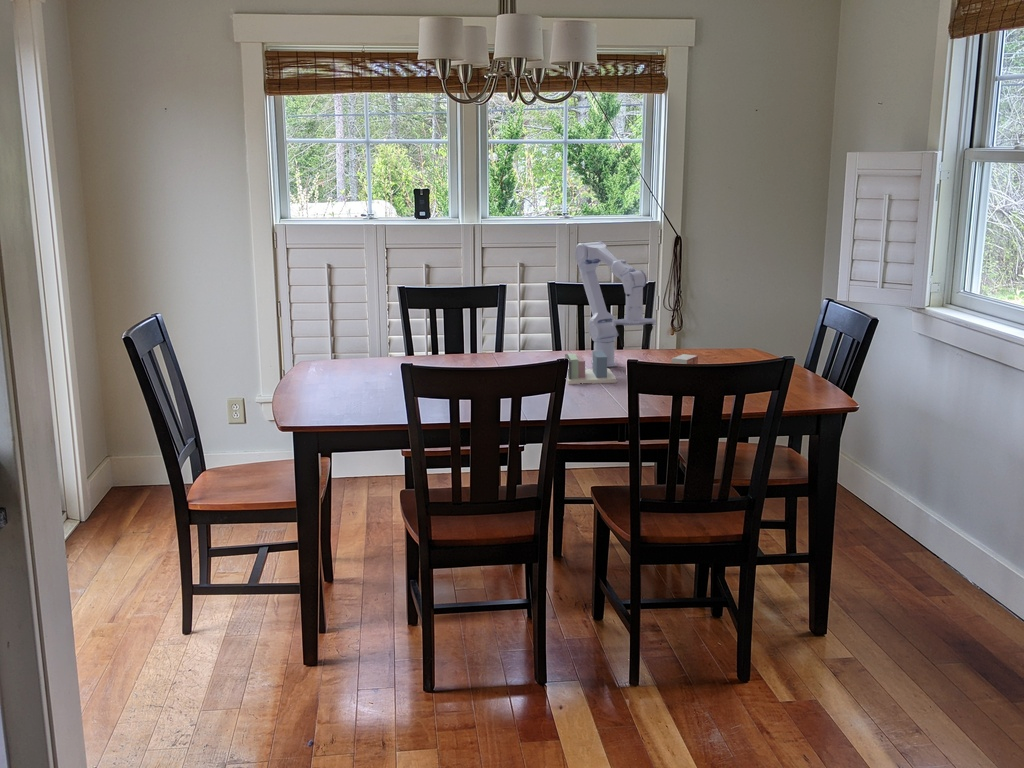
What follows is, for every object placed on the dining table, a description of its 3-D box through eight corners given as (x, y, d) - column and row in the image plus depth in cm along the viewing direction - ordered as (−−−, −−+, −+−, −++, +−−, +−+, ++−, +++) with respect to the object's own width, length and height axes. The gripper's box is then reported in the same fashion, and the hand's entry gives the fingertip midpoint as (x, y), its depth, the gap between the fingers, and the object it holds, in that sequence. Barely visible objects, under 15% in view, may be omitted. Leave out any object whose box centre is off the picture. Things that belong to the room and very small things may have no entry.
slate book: (592, 371, 337) (592, 351, 335) (602, 370, 337) (602, 350, 335) (596, 377, 327) (596, 357, 326) (607, 377, 327) (607, 356, 326)
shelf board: (563, 373, 340) (563, 369, 340) (609, 371, 341) (609, 368, 340) (568, 384, 324) (568, 380, 324) (616, 382, 325) (616, 379, 325)
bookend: (564, 371, 338) (564, 354, 336) (567, 371, 338) (567, 354, 336) (568, 379, 326) (568, 361, 325) (571, 379, 326) (571, 361, 325)
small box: (686, 392, 311) (686, 359, 308) (670, 390, 314) (670, 357, 312) (697, 387, 317) (698, 355, 315) (682, 385, 320) (682, 353, 318)
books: (567, 371, 337) (567, 353, 335) (581, 371, 337) (581, 353, 335) (571, 378, 327) (570, 359, 326) (585, 378, 327) (585, 359, 326)
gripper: (614, 309, 329) (614, 349, 332) (657, 308, 329) (657, 347, 333) (611, 306, 335) (611, 345, 339) (653, 304, 336) (652, 343, 339)
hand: (633, 346), depth 336 cm, fingers open, 7 cm apart
